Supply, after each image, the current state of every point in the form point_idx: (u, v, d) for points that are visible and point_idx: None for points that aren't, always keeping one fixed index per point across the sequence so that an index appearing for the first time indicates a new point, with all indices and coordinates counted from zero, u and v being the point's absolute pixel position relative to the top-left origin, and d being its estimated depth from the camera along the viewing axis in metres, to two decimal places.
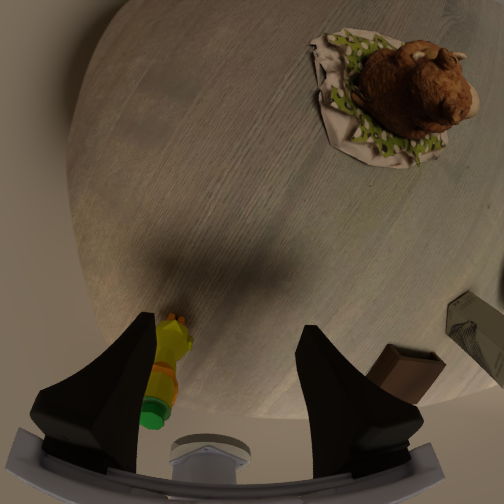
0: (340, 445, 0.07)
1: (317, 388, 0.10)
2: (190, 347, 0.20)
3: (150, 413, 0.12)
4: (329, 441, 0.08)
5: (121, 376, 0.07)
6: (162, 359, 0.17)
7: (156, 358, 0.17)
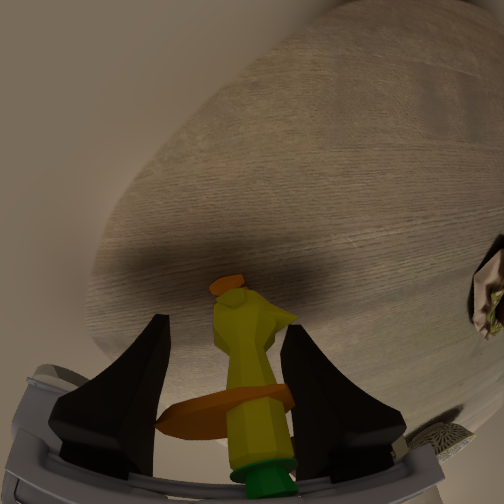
0: (319, 448, 0.07)
1: (299, 389, 0.10)
2: None
3: (293, 491, 0.05)
4: (309, 444, 0.08)
5: (141, 380, 0.08)
6: (270, 372, 0.10)
7: (261, 365, 0.10)
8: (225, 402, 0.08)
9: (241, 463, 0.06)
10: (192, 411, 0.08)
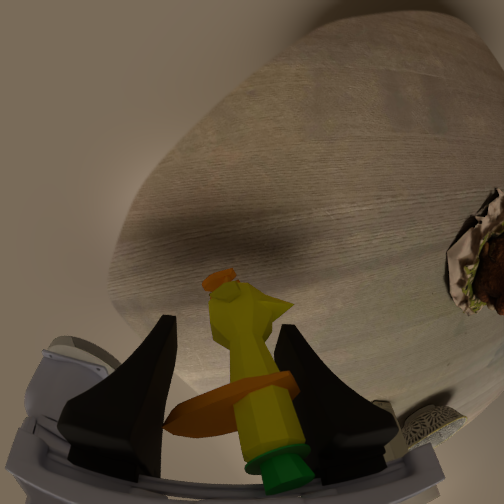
0: None
1: None
2: None
3: (309, 476, 0.06)
4: None
5: (151, 382, 0.08)
6: (272, 361, 0.10)
7: (262, 355, 0.10)
8: (231, 395, 0.08)
9: (254, 453, 0.06)
10: (199, 407, 0.08)
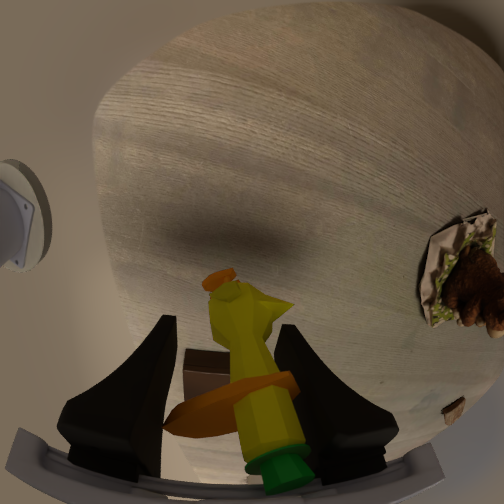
0: None
1: None
2: None
3: (309, 476, 0.06)
4: None
5: (151, 382, 0.08)
6: (272, 361, 0.10)
7: (262, 355, 0.10)
8: (231, 395, 0.08)
9: (254, 454, 0.06)
10: (199, 408, 0.08)
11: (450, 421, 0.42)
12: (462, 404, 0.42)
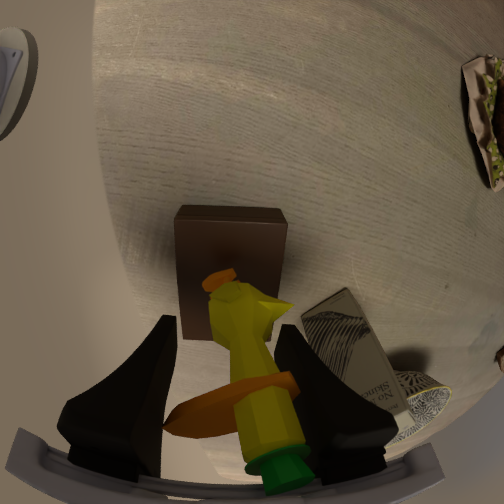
0: None
1: None
2: None
3: (309, 477, 0.06)
4: None
5: (151, 382, 0.08)
6: (272, 362, 0.10)
7: (262, 355, 0.10)
8: (231, 396, 0.08)
9: (254, 454, 0.06)
10: (199, 408, 0.08)
11: None
12: None
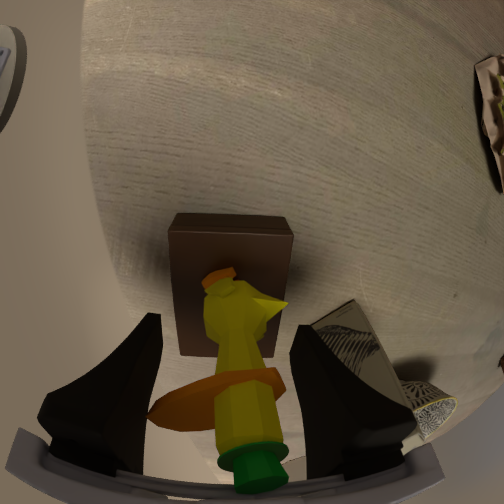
0: (332, 446, 0.07)
1: (310, 388, 0.10)
2: (256, 341, 0.13)
3: (282, 477, 0.05)
4: (322, 442, 0.08)
5: (130, 378, 0.08)
6: (259, 358, 0.10)
7: (249, 350, 0.10)
8: (211, 387, 0.08)
9: (227, 447, 0.06)
10: (180, 397, 0.08)
11: None
12: None
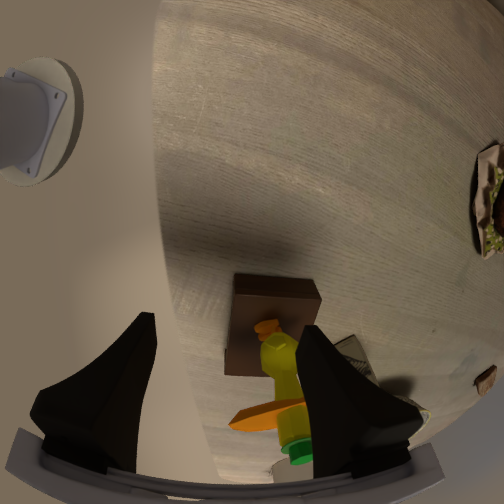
0: (340, 445, 0.07)
1: (317, 388, 0.10)
2: None
3: None
4: (329, 441, 0.08)
5: (121, 377, 0.07)
6: (300, 390, 0.16)
7: (295, 386, 0.16)
8: (278, 408, 0.14)
9: (288, 440, 0.12)
10: (258, 414, 0.14)
11: (483, 391, 0.38)
12: (494, 373, 0.39)
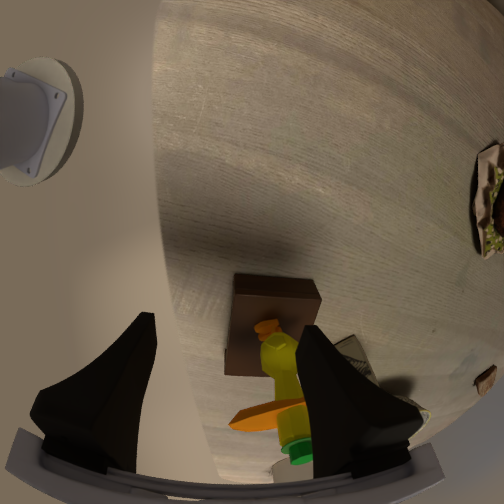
0: (340, 445, 0.07)
1: (317, 388, 0.10)
2: None
3: None
4: (329, 441, 0.08)
5: (121, 377, 0.07)
6: (300, 389, 0.16)
7: (295, 385, 0.16)
8: (278, 408, 0.14)
9: (288, 441, 0.12)
10: (258, 414, 0.14)
11: (483, 391, 0.38)
12: (494, 373, 0.39)
